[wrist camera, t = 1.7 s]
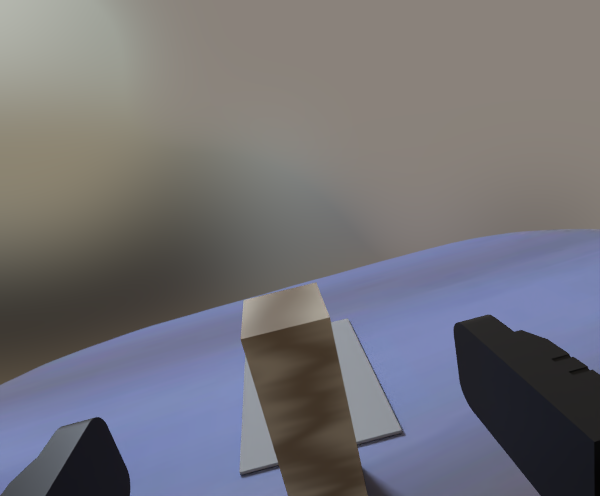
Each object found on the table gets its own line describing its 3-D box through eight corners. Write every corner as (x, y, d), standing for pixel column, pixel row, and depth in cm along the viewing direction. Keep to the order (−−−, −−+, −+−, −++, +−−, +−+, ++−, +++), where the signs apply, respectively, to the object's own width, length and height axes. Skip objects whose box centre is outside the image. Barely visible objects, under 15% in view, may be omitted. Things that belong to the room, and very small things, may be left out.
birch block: (301, 541, 26) (240, 339, 21) (294, 476, 30) (243, 300, 25) (373, 521, 26) (329, 317, 21) (355, 461, 31) (316, 282, 26)
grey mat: (240, 474, 32) (239, 472, 32) (246, 345, 51) (245, 343, 51) (402, 432, 32) (401, 429, 32) (348, 320, 51) (347, 318, 51)
